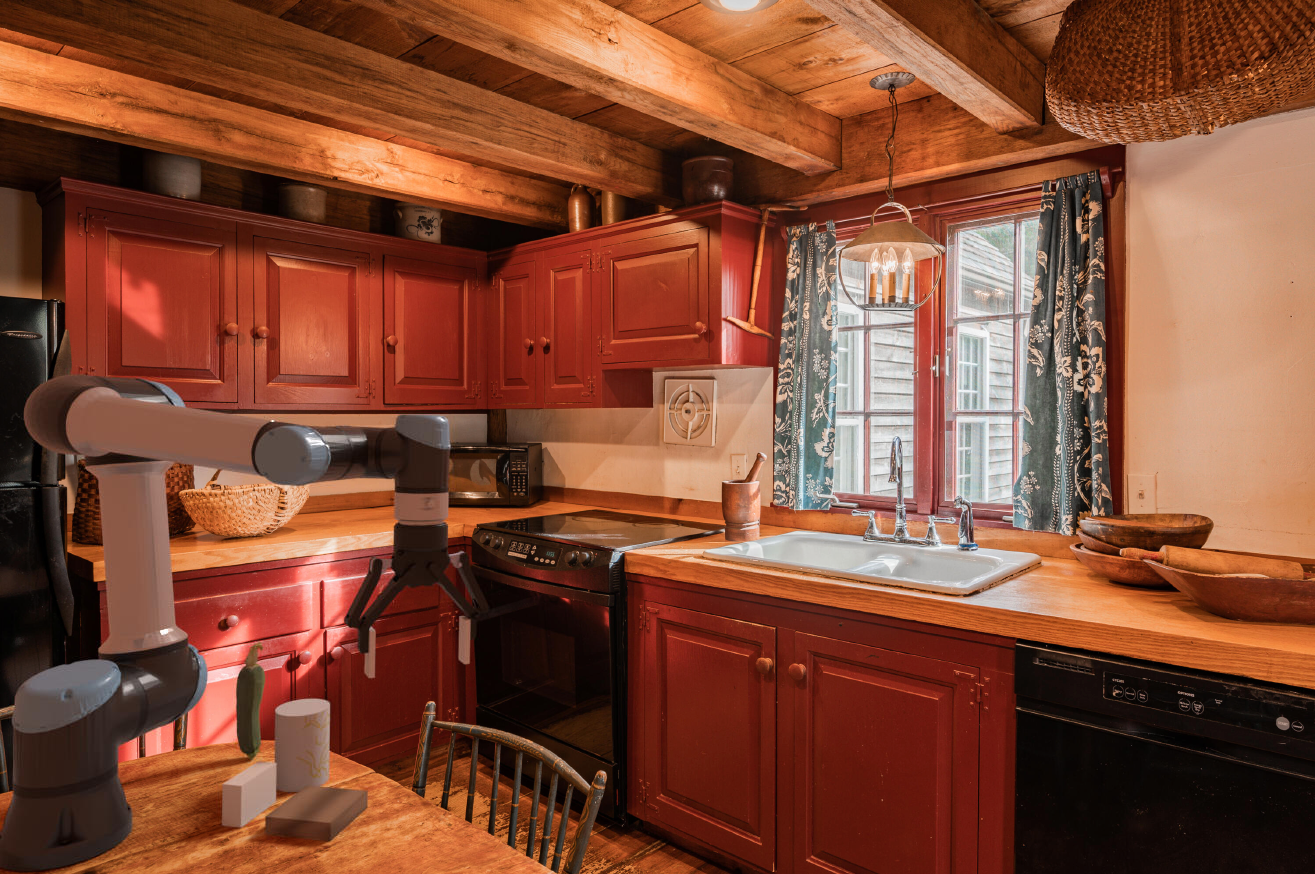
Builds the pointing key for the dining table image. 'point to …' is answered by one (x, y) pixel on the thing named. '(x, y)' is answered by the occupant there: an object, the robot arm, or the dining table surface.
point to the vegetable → (249, 703)
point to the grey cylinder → (302, 744)
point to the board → (316, 813)
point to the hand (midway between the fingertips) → (418, 668)
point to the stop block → (248, 794)
